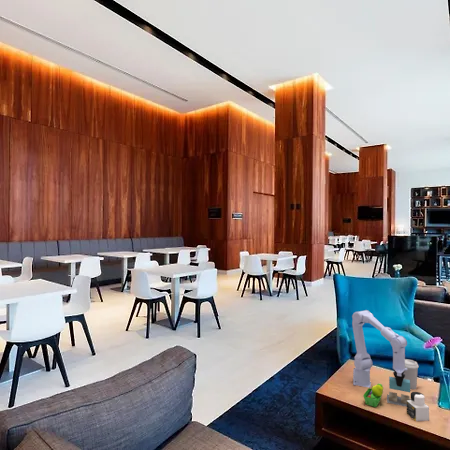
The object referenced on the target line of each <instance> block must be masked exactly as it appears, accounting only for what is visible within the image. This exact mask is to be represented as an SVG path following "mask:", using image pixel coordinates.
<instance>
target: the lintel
mask: <svg viewBox="0 0 450 450" xmlns="http://www.w3.org/2000/svg"><path fill="white" fill-rule="evenodd" d="M388 381H389V383H388V388H389V389H390V390H394V391H401V392H405V393H411V389H410V380H407V379H403V382H402V386H401V387H400V386H397V384H396V379H395V376H389V377H388Z"/></svg>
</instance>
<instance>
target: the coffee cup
mask: <svg viewBox="0 0 450 450" xmlns="http://www.w3.org/2000/svg"><path fill="white" fill-rule="evenodd" d="M419 366H420V365H419V364H418V362H417V361H415V360H413V359H407V358H405V368H407V371H406V370H405V372H404V374H405V377H404V379H407V380H410V390H417V386H418V385H417V383H418V368H419Z"/></svg>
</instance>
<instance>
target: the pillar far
mask: <svg viewBox="0 0 450 450" xmlns="http://www.w3.org/2000/svg"><path fill="white" fill-rule="evenodd" d="M400 397H401V403H404V404H407V400H410V399H411V395H408V394H403V393H401V396H400Z"/></svg>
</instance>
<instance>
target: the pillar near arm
mask: <svg viewBox="0 0 450 450" xmlns="http://www.w3.org/2000/svg"><path fill="white" fill-rule="evenodd" d="M388 395H389V401H394V402H397V396H398V392H392V391H388Z"/></svg>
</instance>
